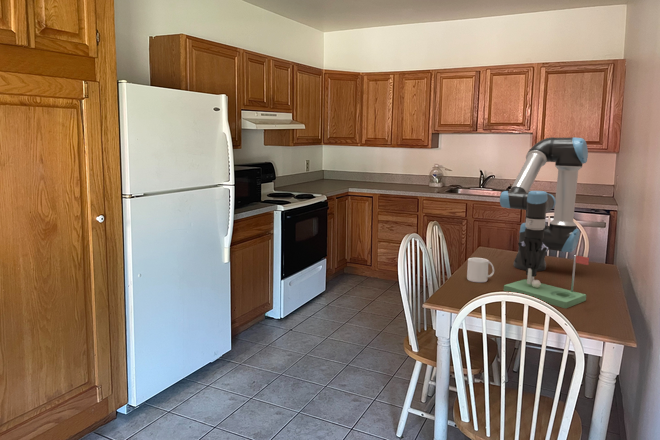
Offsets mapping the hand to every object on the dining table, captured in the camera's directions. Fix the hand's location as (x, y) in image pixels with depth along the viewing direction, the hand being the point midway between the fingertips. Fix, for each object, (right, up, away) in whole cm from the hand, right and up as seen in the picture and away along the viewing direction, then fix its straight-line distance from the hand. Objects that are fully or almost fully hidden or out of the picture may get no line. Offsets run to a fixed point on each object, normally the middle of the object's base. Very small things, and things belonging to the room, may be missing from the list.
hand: (530, 283), depth 209 cm
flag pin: (+16, -5, -8) cm, 19 cm away
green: (+4, -5, -4) cm, 7 cm away
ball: (+2, 0, -2) cm, 3 cm away
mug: (-16, -1, +18) cm, 24 cm away
